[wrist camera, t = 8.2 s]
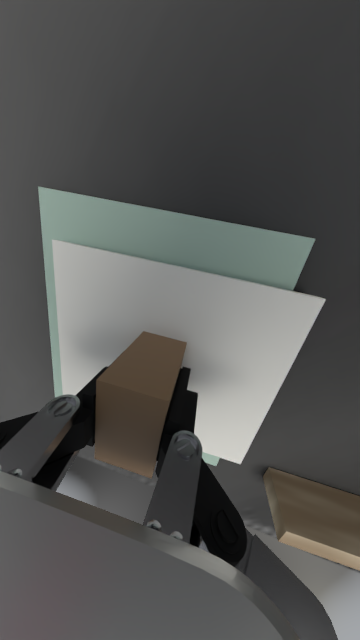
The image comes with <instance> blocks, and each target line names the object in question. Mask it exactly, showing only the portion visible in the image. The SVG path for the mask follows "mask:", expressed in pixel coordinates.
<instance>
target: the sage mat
mask: <svg viewBox="0 0 360 640" xmlns="http://www.w3.org/2000/svg"><path fill="white" fill-rule="evenodd" d="M38 190H39V203H40V215H41V227H42V240H43V252H44V265H45V277H46V290H47V302H48V315H49V327H50V340H51V352H52V364H53V377H54V389H55V398H56V397H58V396H61V395H63V391H62V377H61V363H60V348H59V334H58V320H57V305H56V291H55V277H54V263H53V248H52V239H53V240H60V241H66V242H70V243H75V244H80V245H84V246H89V247H93V248H98V249H103V250H107V251H112V252H116V253H121V254H126V255H130V256H135V257H139V258H144V259H149V260H153V261H158V262H162V263H167V264H172V265H176V266H181V267H185V268H190V269H195V270H199V271H204V272H208V273H213V274H218V275H222V276H227V277H231V278H236V279H240V280H245V281H250V282H254V283H259V284H263V285H268V286H273V287H277V288H282V289H286V290H291V291H293V289H294V287H295V285H296V282H297V280H298V278H299V276H300V273H301V271H302V269H303V266H304V264H305V262H306V260H307V257H308V255H309V253H310V250H311V248H312V246H313V244H314V241H315V239H313V238H308V237H303V236H297V235H292V234H287V233H282V232H276V231H271V230H266V229H260V228H255V227H250V226H244V225H239V224H234V223H229V222H223V221H218V220H213V219H207V218H202V217H197V216H192V215H186V214H181V213H176V212H170V211H165V210H160V209H154V208H149V207H144V206H139V205H133V204H128V203H123V202H117V201H112V200H107V199H102V198H96V197H91V196H86V195H80V194H75V193H70V192H65V191H59V190H54V189H49V188H43V187H38ZM202 458H203V460H204V461H205V463H208V464H211V465H214V466H216V465H217V463H218V461H219V458H220V457H217V456H214V455H211V454H207V453H204V452H202Z"/></svg>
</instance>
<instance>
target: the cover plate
mask: <svg viewBox="0 0 360 640" xmlns="http://www.w3.org/2000/svg"><path fill="white" fill-rule="evenodd" d="M52 248H53V263H54V277H55V291H56V305H57V320H58V334H59V348H60V363H61V377H62V391H63V395H66V394H71V395H76V394H77V393H78V392H79V391H80V390H81V389H83V388H84V387H85V386H86V385H87V384H88V383H89V382H90V381H91V380H92V379H93V378H94V377H95V376H96V375H97V374H98V373H99V372H100V371H101V370H102V369H103V368H104V367H106V366H107V367H108V368H107V369H106V370H105V371H104V372H103V373H102V375H101V376H100V377H99V378H98V379H97V380H96V421H95V459H97V460H100V461H103V462H106V463H109V464H112V465H115V466H117V467H120V468H123V469H126V470H129V471H132V472H135V473H137V474H140V475H143V476H146V477H149V478H152V475H153V471H154V468H155V464H156V461H157V460H156V457H157V453H158V449H159V444H160V440H161V435H162V431H163V427H164V422H165V418H166V415H167V411H168V408H169V405H170V401H171V398H172V394H173V391H174V388H175V384H176V381H177V378H178V374H179V371H180V368H183V367H187V368H190V369H191V371H190V377H189V382H188V387H187V390H190V391H193V392H197V393H198V400H197V409H196V419H195V428H194V434H195V435H196V436H197V437H198V439H199V440H200V442H201V445H202V452H204V453H207V454H211V455H214V456H217V457H220V458H223V459H226V460H229V461H232V462H235V463H238V464H241V462H242V460H243V458H244V456H245V454H246V452H247V451H248V449H249V447H250V445H251V443H252V441H253V439H254V437H255V435H256V433H257V431H258V429H259V427H260V426H261V424H262V422H263V420H264V418H265V416H266V414H267V412H268V410H269V408H270V406H271V404H272V402H273V400H274V399H275V397H276V395H277V393H278V391H279V389H280V387H281V385H282V383H283V381H284V379H285V377H286V375H287V374H288V372H289V370H290V368H291V366H292V364H293V362H294V360H295V358H296V356H297V354H298V352H299V350H300V349H301V347H302V345H303V343H304V341H305V339H306V337H307V335H308V333H309V331H310V329H311V327H312V325H313V323H314V322H315V320H316V318H317V316H318V314H319V312H320V310H321V308H322V306H323V304H324V302H325V300H326V299H324V298H321V297H318V296H314V295H309V294H305V293H300V292H296V291H291V290H286V289H282V288H277V287H273V286H268V285H263V284H259V283H254V282H250V281H245V280H240V279H236V278H231V277H227V276H222V275H218V274H213V273H208V272H204V271H199V270H195V269H190V268H185V267H181V266H176V265H172V264H167V263H162V262H158V261H153V260H149V259H144V258H139V257H135V256H130V255H126V254H121V253H116V252H112V251H107V250H103V249H98V248H93V247H89V246H84V245H80V244H75V243H70V242H66V241H60V240H53V239H52ZM123 351H124V352H123ZM122 352H123V353H122ZM121 353H122V354H121ZM120 354H121V355H120Z"/></svg>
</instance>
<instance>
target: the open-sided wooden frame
mask: <svg viewBox="0 0 360 640" xmlns="http://www.w3.org/2000/svg"><path fill="white" fill-rule="evenodd" d="M263 480H264V484H265V488H266V492H267V497H268V501H269V505H270V509H271V514H272V518H273V522H274V526H275V530H276V535H277V539H278V541H279V542H282V543H284V544H287V545H290V546H293V547H296V548H298V549H301V550H304V551H307V552H309V553H312V554H315V555H318V556H321V557H323V558H326V559H329V560H332V561H334V562H337V563H340V564H343V565H346V566H348V567H351V568H354V569H357V570H359V571H360V496H357V495H354V494H351V493H348V492H345V491H342V490H339V489H335V488H332V487H329V486H326V485H323V484H320V483H317V482H314V481H310V480H307V479H304V478H301V477H298V476H295V475H292V474H289V473H286V472H282V471H279V470H276V469H273V468H270V467H269V468H268V469H267V471H266V472H265V474H264V476H263Z"/></svg>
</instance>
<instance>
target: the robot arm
mask: <svg viewBox="0 0 360 640" xmlns="http://www.w3.org/2000/svg"><path fill="white" fill-rule="evenodd" d="M123 352H124V351H123ZM123 352H122V353H123ZM122 353H121V354H122ZM121 354H120V355H121ZM107 368H108V367H107V366H106V367H104V368H103V369H102V370H101V371H100V372H99V373H98V374H97V375H96V376H95V377H94V378H93V379H92V380H91V381H90V382H89V383H88V384H87V385H86V386H85V387H84V388H83V389H81V390H80V391H79V392H78V393H77V394H76V395H71V394H66V395H61V396H58V397H56V398H54V399H52V400H51V401H50V402H48V403H47V404H46V405H45V406H44V407H43V408H42V409H41V410H40V411H39V412H36V413H32V414H29V415H25V416H22V417H19V418H15V419H12V420H8V421H5V422H1V423H0V640H338V638H337V635H336V633H335V630H334V627H333V625H332V622H331V620H330V618H329V616H328V615H327V613H326V611H325V609H324V607H323V605H322V604H321V603H320V602H319V600H318V599H317V598H316V596H315V595H314V594H313V593H312V592H311V591H310V590H309V589H308V588H307V587H306V586H305V585H304V584H303V583H302V582H301V581H300V580H299V579H298V578H297V576H295V574H294V573H293V572H292V571H291V570H290V569H289V568H288V567H287V566H286V565H285V564H284V563H283V562H282V561H281V560H280V559H279V558H278V557H277V556H276V555H275V554H274V553H273V552H272V551H271V550H270V549H269V548H268V547H267V546H266V545H265V544H264V543H263V542H262V541H261V540H260V539H259V538H258V537H257V536H256V535H254V536H253V535H252V534H251V533H250V532H249V531H248V530H247V529H246V528H245V526H244V523H243V520H242V518H241V516H240V515H239V513H238V511H237V510H236V508H235V507H234V505H233V504H232V502H231V501H230V499H229V498H228V496H227V495H226V493H225V492H224V490H223V489H222V487H221V486H220V484H219V483H218V481H217V480H216V478H215V476H214V475H213V473H212V472H211V470H210V469H209V467H208V466H207V464H206V463H205V461H204V460H203V458H202V445H201V442H200V440H199V439H198V437H197V436H196V435H195V434H194V428H195V419H196V409H197V400H198V393H197V392H193V391H190V390H187V387H188V382H189V377H190V371H191V369H190V368H187V367H183V368H180V371H179V374H178V378H177V381H176V384H175V388H174V391H173V394H172V398H171V401H170V405H169V408H168V411H167V415H166V418H165V422H164V427H163V431H162V435H161V440H160V444H159V449H158V453H157V457H156V460H157V461H158V463H157V467H156V471H155V472H156V475H157V477H158V481H157V484H156V487H155V490H154V493H153V496H152V499H151V502H150V504H149V507H148V510H147V514H146V517H145V519H144V522H143V525H141V524H139V523H136V522H134V521H131V520H128V519H126V518H123V517H121V516H118V515H116V514H113V513H110V512H108V511H105V510H103V509H100V508H97V507H95V506H92V505H90V504H87V503H84V502H82V501H79V500H76V499H74V498H71V497H68V496H66V495H63V494H61V493H57V492H56V490H57V488H58V487H59V485H60V483H61V482H62V480H63V478H64V477H65V475H66V473H67V471H68V469H69V468H70V466H71V465H72V463H73V461H74V460H75V458H76V456H77V455H78V453H79V451H80V449H82V448H84V447H85V446H86V445H89V446H93V445H94V443H95V421H96V380H97V379H98V378H99V377H100V376H101V375H102V373H103V372H104V371H105V370H106V369H107Z"/></svg>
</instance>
